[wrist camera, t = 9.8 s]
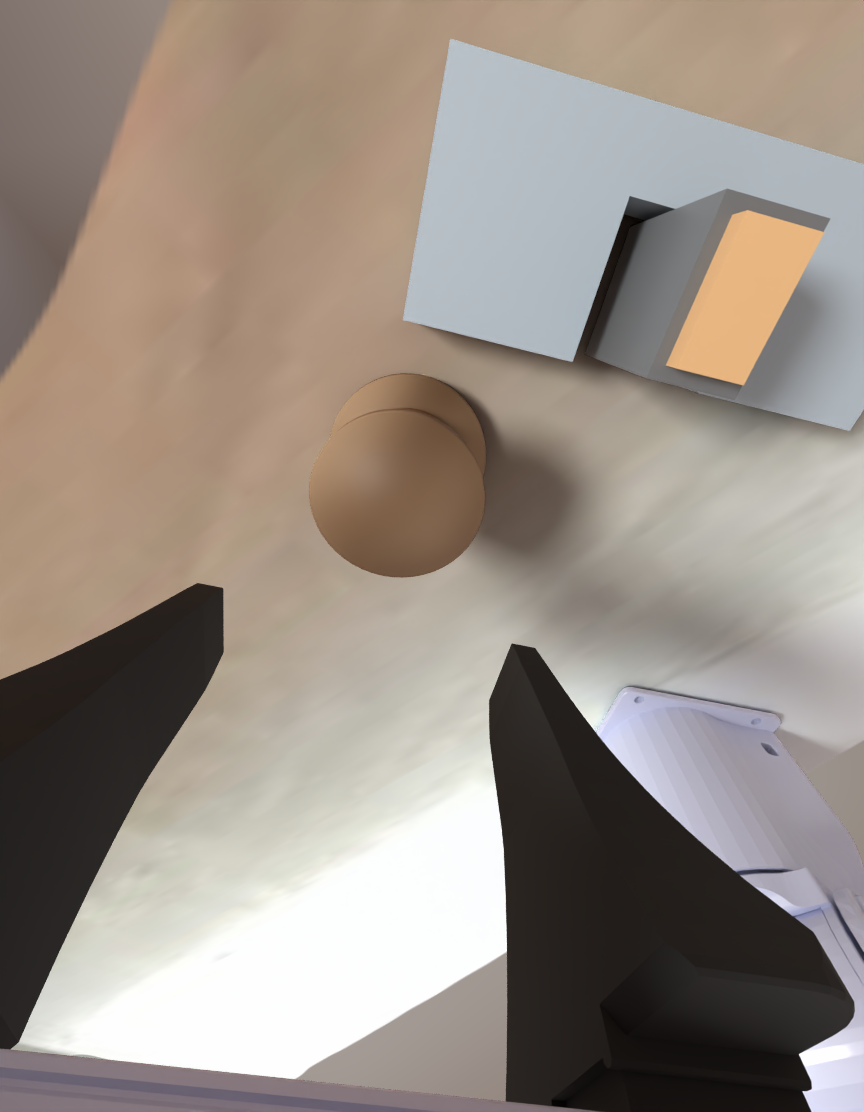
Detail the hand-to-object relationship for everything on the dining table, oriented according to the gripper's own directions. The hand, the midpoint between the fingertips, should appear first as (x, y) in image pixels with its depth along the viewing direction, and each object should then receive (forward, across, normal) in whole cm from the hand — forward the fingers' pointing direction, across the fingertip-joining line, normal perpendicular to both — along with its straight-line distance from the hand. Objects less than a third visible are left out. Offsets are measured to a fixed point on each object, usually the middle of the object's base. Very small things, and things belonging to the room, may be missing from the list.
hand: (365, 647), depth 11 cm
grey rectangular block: (+10, -7, -9) cm, 15 cm away
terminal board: (+10, -7, -10) cm, 16 cm away
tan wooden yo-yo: (+10, 0, -2) cm, 10 cm away
